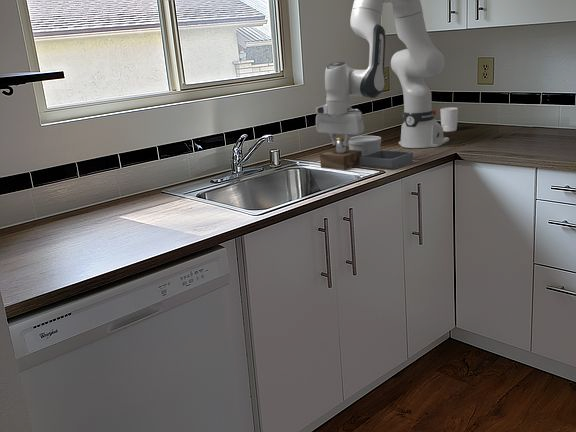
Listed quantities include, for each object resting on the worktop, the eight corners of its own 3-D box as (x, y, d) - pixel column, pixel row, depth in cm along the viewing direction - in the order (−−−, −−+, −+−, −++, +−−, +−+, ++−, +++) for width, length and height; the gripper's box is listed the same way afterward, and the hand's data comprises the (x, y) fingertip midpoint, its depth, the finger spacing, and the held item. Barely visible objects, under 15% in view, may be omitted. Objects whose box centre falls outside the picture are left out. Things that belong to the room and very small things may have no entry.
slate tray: (381, 158, 243) (381, 149, 242) (412, 161, 234) (412, 152, 233) (359, 166, 234) (359, 156, 233) (391, 169, 224) (391, 160, 223)
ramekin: (370, 150, 260) (369, 134, 259) (388, 155, 249) (387, 137, 247) (342, 155, 255) (341, 138, 253) (359, 160, 244) (358, 142, 242)
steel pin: (340, 162, 239) (339, 136, 236) (348, 163, 237) (346, 137, 234) (335, 164, 237) (333, 138, 234) (342, 165, 235) (340, 138, 232)
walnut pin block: (339, 161, 245) (338, 148, 243) (362, 163, 237) (361, 150, 236) (320, 167, 237) (319, 154, 236) (343, 170, 230) (343, 156, 228)
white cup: (438, 132, 290) (438, 110, 287) (442, 129, 297) (441, 107, 294) (456, 131, 287) (456, 109, 284) (459, 128, 294) (459, 107, 291)
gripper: (366, 107, 226) (368, 145, 230) (322, 106, 240) (325, 142, 244) (356, 110, 222) (358, 149, 226) (312, 108, 236) (314, 145, 239)
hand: (340, 145), depth 235 cm, fingers closed on steel pin, 3 cm apart
